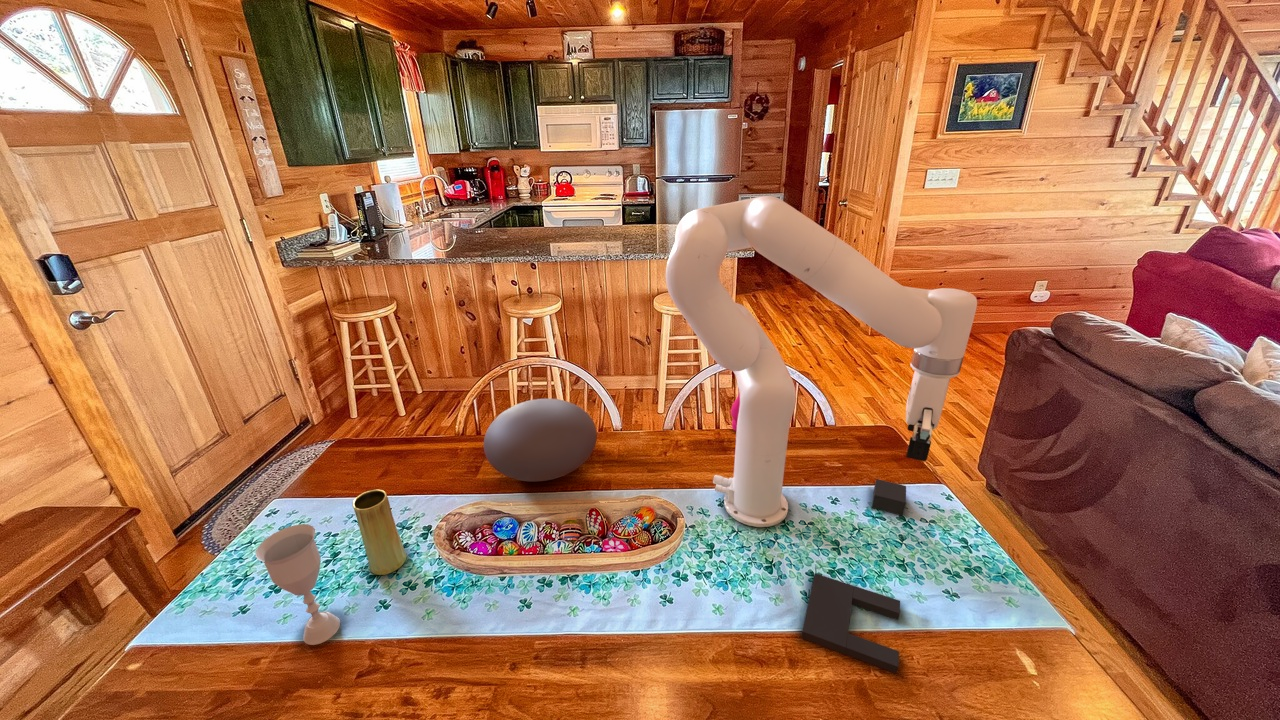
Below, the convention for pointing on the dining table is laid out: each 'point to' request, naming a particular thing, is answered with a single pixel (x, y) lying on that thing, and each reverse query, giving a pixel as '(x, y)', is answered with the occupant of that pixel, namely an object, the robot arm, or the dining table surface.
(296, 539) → the chalice
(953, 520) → the dining table surface
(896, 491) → the connector pad
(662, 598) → the dining table surface
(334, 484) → the dining table surface
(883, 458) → the dining table surface
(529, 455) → the flattened ellipsoid
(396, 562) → the vase
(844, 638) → the base pad
